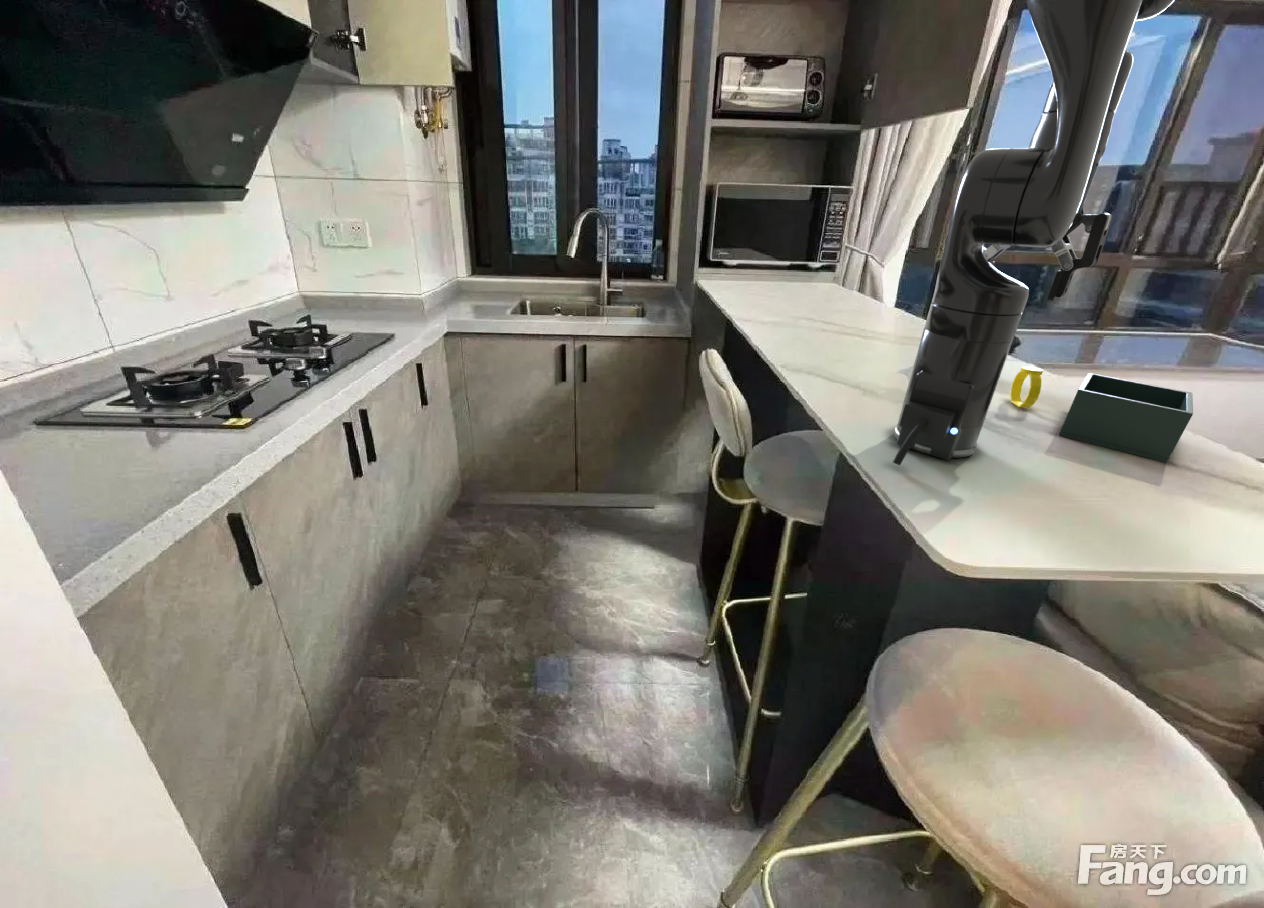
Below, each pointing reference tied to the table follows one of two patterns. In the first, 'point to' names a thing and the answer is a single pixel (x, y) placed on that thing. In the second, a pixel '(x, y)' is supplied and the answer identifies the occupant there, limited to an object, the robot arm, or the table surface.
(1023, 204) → the robot arm
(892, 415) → the table surface
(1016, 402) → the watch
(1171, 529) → the table surface
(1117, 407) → the waste bin
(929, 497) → the table surface
